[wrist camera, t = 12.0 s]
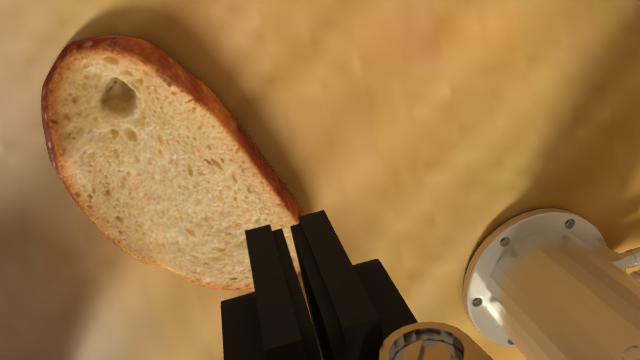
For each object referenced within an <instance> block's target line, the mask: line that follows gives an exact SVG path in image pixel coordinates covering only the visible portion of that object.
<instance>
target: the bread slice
mask: <svg viewBox="0 0 640 360" xmlns="http://www.w3.org/2000/svg"><path fill="white" fill-rule="evenodd" d="M41 109H42V122H43V128H44V133H45V139H46V146H47V150H48V154H49V158H50V161H51V163H52V165H53V167H54V169H55V171H56V172H57V174H58V175H59V176H60V178H61V179H62V181H63V183H64V184H65V186H66V188H67V190H68V191H69V193H70V195H71V196H72V198H73V199H74V201H75V202H76V203H77V205H78V206H79V207H80V208H81V209H82V210H83V211H84V213H85V214H86V215H87V216H88V217H89V218H90V219H91V220H92V221H93V222H94V223H95V224H96V226H97V227H98V228H99V230H100V231H101V232H102V234H104V235H105V236H106V237H107V238H109V239H110V240H111V241H113V242H114V243H115V244H116V245H117V246H119V247H120V248H121V249H122V250H123V251H125V252H127V253H128V254H130V255H131V256H133V257H134V258H135V259H137V260H139V261H140V262H143V263H145V264H148V265H154V266H160V267H164V268H167V269H169V270H171V271H173V272H176V273H178V274H180V275H181V276H183V277H184V278H186V279H187V280H189V281H190V282H193V283H196V284H198V285H202V286H207V287H211V288H214V289H222V290H234V291H244V292H252V291H255V289H254V283H253V277H252V271H251V266H250V260H249V254H248V248H247V242H246V236H245V230H249V229H253V228H257V227H261V226H265V225H268V224H270V225H271V229H272V231H273V230H277V229H280V228H282V229H283V233H284V236H285V239H286V242H287V245H288V248H289V251H290V255H291V258H292V261H293V264H294V267H295V270H296V274H297V275H299V274H300V273H301V271H300V267H299V263H298V259H297V254H296V250H295V246H294V242H293V237H292V233H291V228H290V226H292V225H296V224H299V219H298V217H299V216H303V215H304V214H303V212H302V210H301V209H300V207H299V205H298V204H297V202H296V200H295V199H294V198H293V197H292V195H291V193H290V192H289V191H288V189H287V188H286V186H285V185H284V183H283V182H282V181H281V180H280V179H279V178H278V177H277V175H276V174H275V173H274V171H273V170H272V168H271V167H270V166H269V164H268V163H267V162H266V160H265V159H264V157H263V156H262V155H261V153H260V152H259V150H258V149H257V148H256V146H255V145H254V144H253V142H252V141H251V139H250V138H249V137H248V135H247V134H246V132H245V131H244V130H243V128H242V127H241V126H240V124H239V123H238V122H237V121H236V119H235V118H234V117H233V116H232V115H231V113H230V112H229V111H228V110H227V109H226V108H225V106H224V105H223V104H222V103H221V102H220V101H219V100H218V98H217V97H216V96H215V94H214V93H213V92H212V91H211V90H210V89H209V88H208V87H207V86H206V85H205V84H204V83H203V82H202V81H200V80H199V79H197V78H195V77H193V76H192V75H191V74H189V73H188V72H187V71H186V70H185V69H184V68H183V67H182V66H180V65H179V64H178V63H177V62H176V61H175V60H174V59H172V58H171V57H170V56H169V55H167V54H166V53H165V52H163V51H162V50H160V49H159V48H157V47H156V46H154V45H153V44H151V43H149V42H147V41H145V40H142V39H137V38H133V37H128V36H120V35H104V36H98V37H94V38H89V39H85V40H79V41H75V42H72V43H71V44H69V45H68V46H67V47H66V48H65V49H64V50H63V51H62V52H61V54H60V55H59V57H58V59H57V61H56V62H55V64H54V66H53V67H52V69H51V71H50V72H49V74H48V76H47V78H46V81H45V83H44V85H43V88H42V95H41Z"/></svg>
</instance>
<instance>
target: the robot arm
mask: <svg viewBox="0 0 640 360" xmlns="http://www.w3.org/2000/svg"><path fill="white" fill-rule="evenodd" d="M298 219H299V224H296V225H292V226H290V228H291V233H292V237H293V242H294V246H295V250H296V254H297V259H298V263H299V267H300V271H301V276H302V280H303V284H304V288H305V293H306V297H307V301H308V305H309V310H310V314H311V318H312V321H311V318H310V315H309V311H308V308H307V305H306V302H305V299H304V296H303V293H302V289H301V286H300V283H299V280H298V277H297V274H296V270H295V267H294V264H293V261H292V258H291V255H290V251H289V248H288V245H287V242H286V239H285V236H284V233H283V229H282V228H280V229H277V230H273V231H272V229H271V225H270V224H268V225H265V226H261V227H257V228H253V229H249V230H245V236H246V242H247V248H248V254H249V260H250V266H251V271H252V277H253V283H254V289H255V292H253V293H249V294H246V295H242V296H238V297H235V298H231V299H227V300H224V301H221V317H222V334H223V350H224V360H322V359H323V360H493V359H492V358H491V357H490V356H489V355H488V354H487V353H486V352H485V351H484V350H483V349H482V348H481V347H480V346H479V345H478V344H477V343H476V342H474V341H473V340H472V339H471V338H470V337H469V336H468V335H467V334H466V333H464V332H463V331H461V330H460V329H458V328H457V327H454V326H451V325H448V324H445V323H438V322H420V323H418V322H417V320H416V319H415V317H414V315H413V314H412V312H411V310H410V309H409V307H408V306H407V304H406V302H405V301H404V299H403V298H402V296H401V294H400V293H399V291H398V289H397V288H396V286H395V285H394V283H393V281H392V280H391V278H390V277H389V275H388V273H387V272H386V270H385V268H384V267H383V265H382V264H381V262H380V261H379V260H378V259H374V260H370V261H366V262H363V263H359V264H356V265H352V264H351V262H350V260H349V258H348V256H347V254H346V252H345V250H344V248H343V246H342V244H341V242H340V240H339V238H338V237H337V235H336V233H335V231H334V229H333V227H332V225H331V223H330V221H329V219H328V217H327V215H326V213H325V211H324V210H322V211H318V212H315V213H311V214H307V215H303V216H299V217H298ZM636 266H640V247H638V248H634V249H631V250H628V251H626V252H624V253H620V254H619V253H617V252H614V251H612V250H611V249H609V248H608V247H607V246H606V243H605V241H604V238H603V236H602V235H601V234H600V232H599V231H598V229H597V228H596V227H595V226H593V225H592V224H591V223H590V222H589V221H587V220H586V219H584V218H582V217H581V216H579V215H577V214H575V213H573V212H570V211H567V210H563V209H554V208H548V209H537V210H533V211H530V212H526V213H523V214H521V215H519V216H516V217H514V218H512V219H510V220H508V221H507V222H505V223H504V224H503V225H501V226H500V227H498V228H497V229H496V230H495V231H493V232H492V233H491V234H490V235H489V236H488V237H487V238H486V239H485V240H484V242H483V243H482V244H481V245H480V247H479V248H478V249H477V250H476V252H475V254H474V256H473V258H472V259H471V261H470V263H469V266H468V269H467V272H466V274H465V278H464V285H463V301H464V305H465V309H466V312H467V314H468V316H469V318H470V320H471V322H472V323H473V324H474V326H475V327H476V328H477V329H478V331H479V332H480V333H481V334H482V335H483V336H485V337H486V338H487V339H488V340H490V341H492V342H494V343H496V344H498V345H500V346H504V347H508V348H518V349H519V350H520V351H521V353H522V354H523V355H524V356H525V357H526V359H527V360H640V270H638V271H634V272H632V273H631V274H628V273H626V268H630V267H636ZM312 322H313V324H312ZM320 353H321V354H320ZM321 356H322V358H321Z"/></svg>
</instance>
